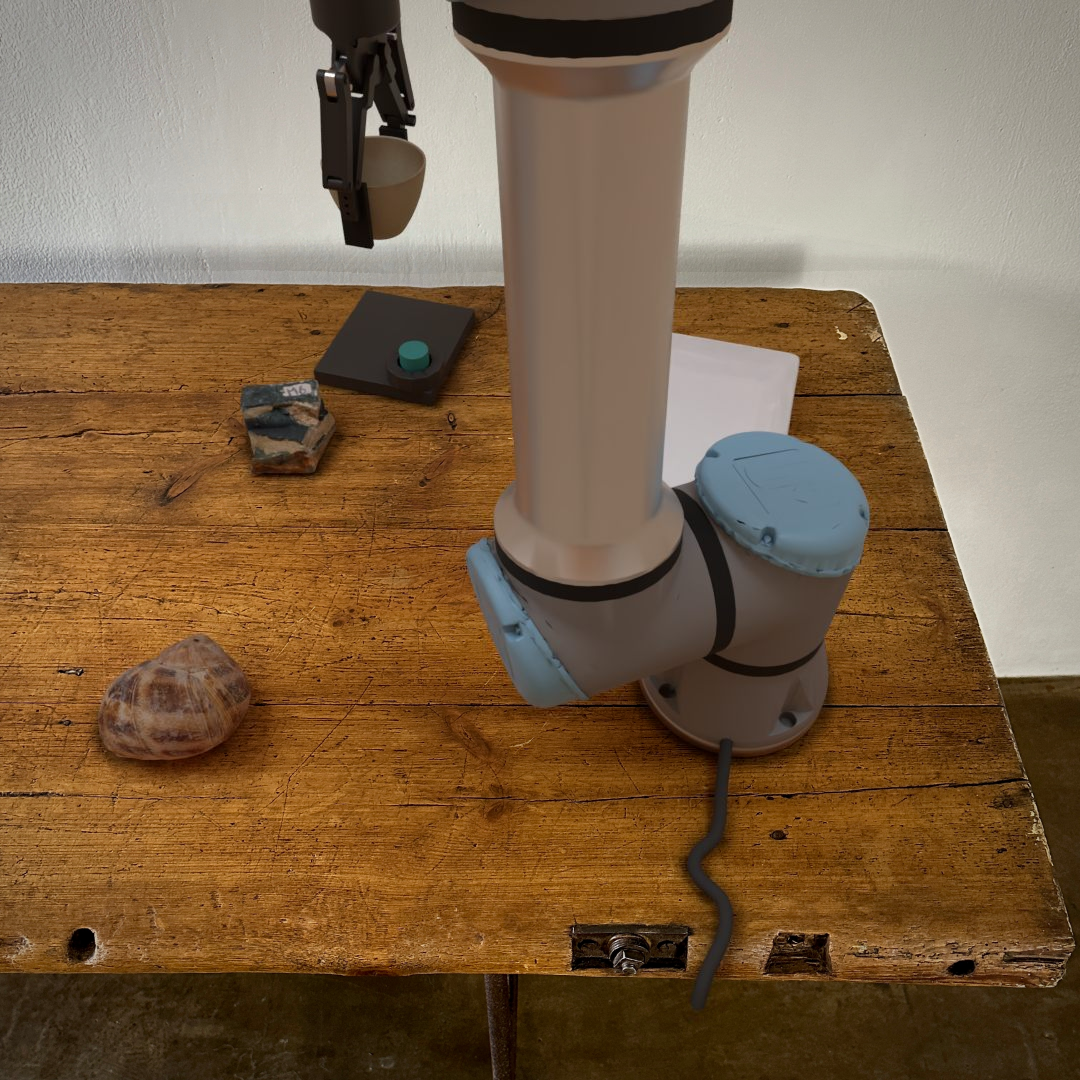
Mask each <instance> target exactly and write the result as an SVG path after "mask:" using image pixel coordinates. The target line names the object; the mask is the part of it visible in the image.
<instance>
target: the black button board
mask: <svg viewBox="0 0 1080 1080" xmlns="http://www.w3.org/2000/svg"><path fill="white" fill-rule="evenodd" d="M475 323H476V310H475V308H470V307H464V306H460V305H459V306H458V305H452V304H447V303H443V302H437V301H431V300H425V299H420V298H414V297H409V296H404V295H399V294H392V293H386V292H381V291H375V290H370V289H366V290H365V292H364V293H363V294H362V296H361V298H360V299H359V301H358V302H357V304H356V305H355V307H354V308H353V309H352V311H351V313H350V314H349V316H348V317H347V319H346V320H345V322H344V323H343V325H342V326H341V328H340V329H339V331H338V332H337V334H336V335H335V337H334V339H333V340H332V341H331V343H330V344H329V346H328V347H327V349H326V350H325V352H324V354H323V355H322V356H321V358H320V359H319V361H318V362H317V364H316V366H315V367H314V369H313V370H312V371H313V375H314V376H313V377H314V380H317V381H318V383H319V385H326V386H331V387H336V388H340V389H346V390H351V391H355V392H361V393H366V394H371V395H374V396H375V395H377V396H381V397H385V398H386V397H387V398H391V399H396V400H402V401H406V402H410V403H416V404H421V405H426V406H430V407H431V406H433V404H434V402H435V400H436V398H437V396H438V395H439V393H440V391H441V389H442V386H443V384H444V383H445V381H446V379H447V376H448V375H449V373H450V371H451V369H452V368H453V365H454V363H455V362H456V359H457V357H458V356H459V354H460V352H461V350H462V348H463V346H464V344H465V343H466V340H467V339H468V336H469V335H470V332H471V330H472V329H473V327H474V326H475ZM409 341H420V342H423V343H424V344H426V345H427V347H428V352H429V365H428V367H427V368H426V369H424V370H422V371H415V372H411V371H406V370H404V369H403V368H402V367H401V365H400V357H399V348H400V346H401V345H402V344H404V343H406V342H409Z"/></svg>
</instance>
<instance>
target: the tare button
mask: <svg viewBox="0 0 1080 1080" xmlns="http://www.w3.org/2000/svg"><path fill="white" fill-rule="evenodd" d="M399 357H400V365H401V367H402V368H403V369H404V370H406V371H411V372H415V371H422V370H424V369H426V368H427V367H428V365H429V352H428V347H427V345H426V344H424V343H423V342H420V341H409V342H406V343H404V344H402V345H401V346H400V348H399Z"/></svg>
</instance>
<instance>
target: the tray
mask: <svg viewBox="0 0 1080 1080" xmlns="http://www.w3.org/2000/svg"><path fill="white" fill-rule="evenodd" d="M800 363H801V362H800V357H799V356H798V355H797V354H794V353H792V352H787V351H782V350H776V349H770V348H764V347H759V346H752V345H747V344H741V343H736V342H729V341H725V340H724V341H723V340H718V339H714V338H713V339H712V338H706V337H701V336H695V335H689V334H684V333H683V334H682V333H678V332H677V333H676V332H672V345H671V359H670V373H669V387H668V401H667V415H666V430H665V444H664V458H663V472H662V480H663V481H664V482H665V483H666V484H667V485H668V486H669V487H670V488H672V487H675V486H678V485H682V484H685V483H689V482H691V481H693V480H695V477H694V475H695V470H696V466H697V464H698V463H699V462H700V461H701V460H702V459H703V457H704V456H705V454H706V452H707V450H708V449H709V448H710V447H711V446H712V445H713V444H715V443H716V442H717V441H719V440H721V439H723V438H725V437H727V436H730V435H733V434H737V433H742V432H752V431H765V432H774V433H780V434H784V435H789V431H790V425H791V424H790V423H791V418H792V412H793V405H794V399H795V392H796V387H797V383H798V382H797V380H798V377H799V370H800Z"/></svg>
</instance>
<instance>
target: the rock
mask: <svg viewBox="0 0 1080 1080" xmlns="http://www.w3.org/2000/svg"><path fill="white" fill-rule="evenodd" d="M319 388H320V383H318V381H317V380H315V378H311V379H310V378H309V379H304V380H299V381H290V382H283V383H272V384H269V383H268V384H255V385H251V384H249V385H246V386H244V387H242V388H241V393H240V394H241V395H240V413H241V414H242V418H243V422H244V425H245V428H246V431H247V435H248V437H249V440H250V444H251V446H250V448H251V451H252V453H253V457H252V458H251V459H252V460H251V462H250V469H249V474H250V475H252V474H255V473H256V474H258V475H262V474H264V473H266V474H269V475H270V474H287V475H288V474H313V473H314V472H316V470H317V466H318V464H319V461H320V460H321V458H322V457H323V455H324V454H325V452H326V448H327V446H328V444H329V443H330V441H331V438H332V437H333V436H334V433H335V432H336V431H337V430H338V429H337V426H336V419H335V418H334V416H333V415H332V414H331V413H330V411H329V410H328V409H326V406H325V402H324V399H323V398H322V395H321V392H320V389H319Z"/></svg>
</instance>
